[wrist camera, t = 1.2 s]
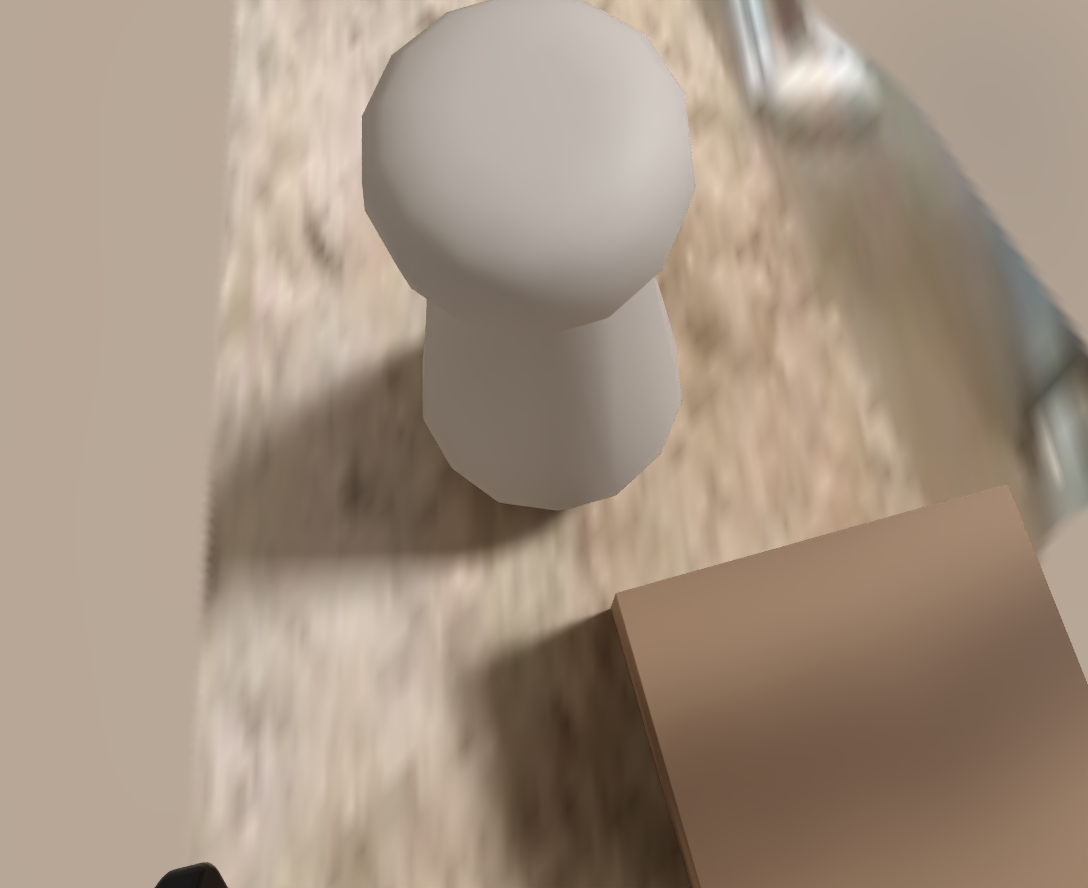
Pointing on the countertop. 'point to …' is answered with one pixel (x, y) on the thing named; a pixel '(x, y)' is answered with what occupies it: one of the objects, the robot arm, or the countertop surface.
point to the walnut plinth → (869, 709)
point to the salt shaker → (535, 240)
